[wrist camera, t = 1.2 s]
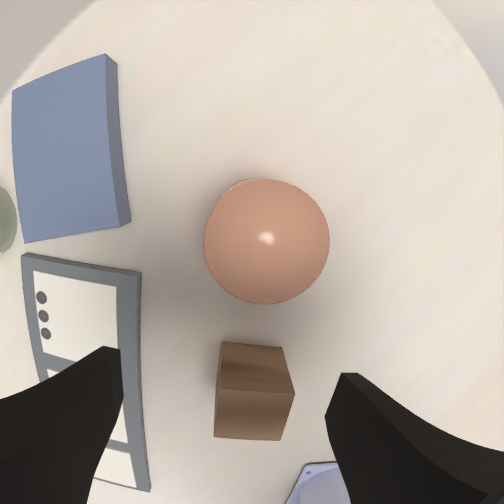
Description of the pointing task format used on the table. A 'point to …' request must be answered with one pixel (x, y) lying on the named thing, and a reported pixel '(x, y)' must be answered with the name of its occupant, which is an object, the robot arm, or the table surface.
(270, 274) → the peach dome-topped cylinder
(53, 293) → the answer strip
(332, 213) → the table surface
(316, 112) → the table surface
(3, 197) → the sage dome-ended cylinder
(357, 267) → the table surface
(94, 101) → the slate blue flat block
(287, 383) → the block
